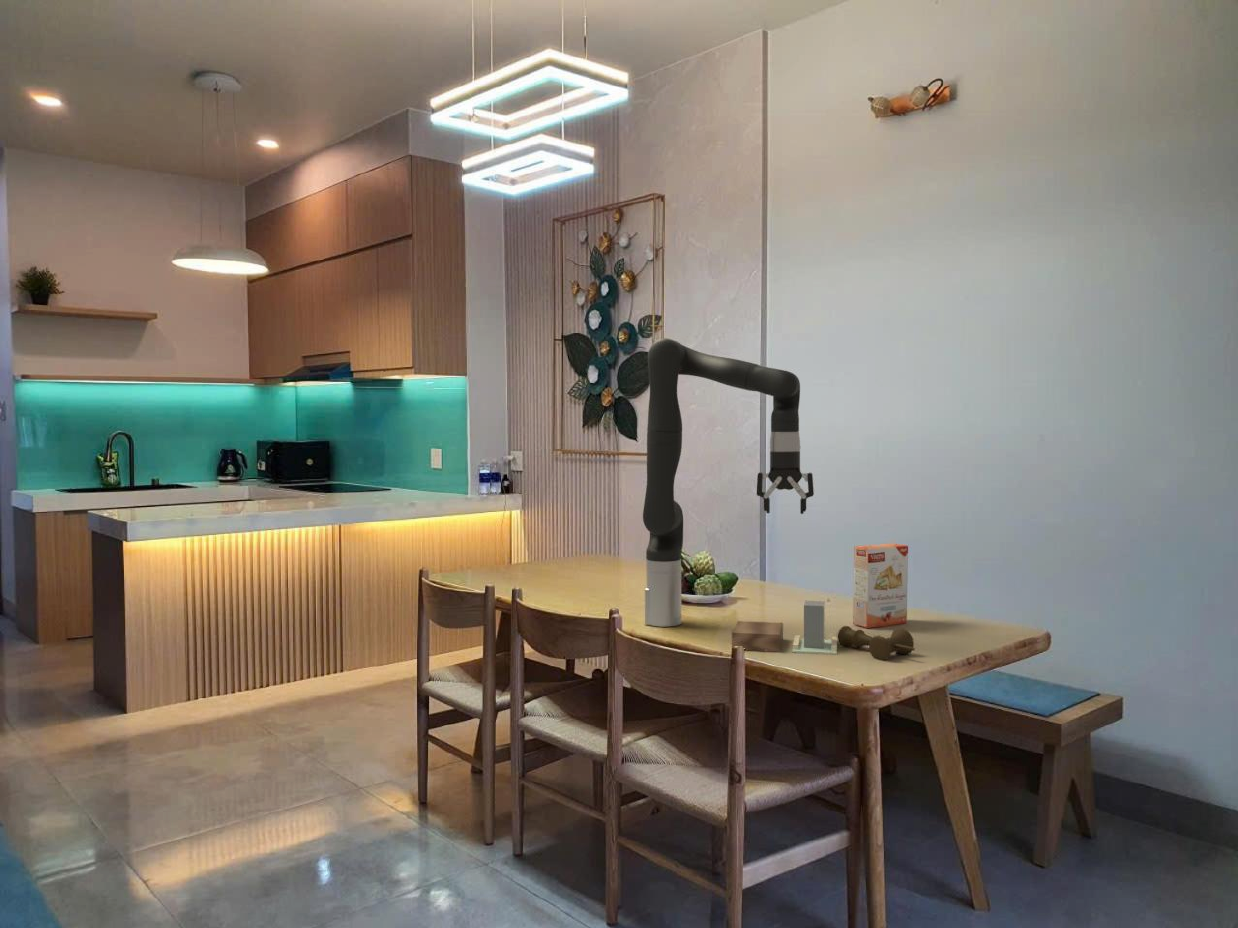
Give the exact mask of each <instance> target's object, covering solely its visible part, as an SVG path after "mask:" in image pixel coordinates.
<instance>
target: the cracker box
mask: <svg viewBox="0 0 1238 928" xmlns="http://www.w3.org/2000/svg"><path fill="white" fill-rule="evenodd" d="M853 555H854V556H853V605H852V606H853V607H852V609H853V611H852V612H853V613H852V620H853V621H852V623H853V624H852V625H856V626H859V627H862V628H864V629H870V628H871V629H872V628H879V627H886V626H893V625H894V626H895V625H902V624H907V623H908V581H909V579H908V576H909V574H908V572H909V571H908V570H909V568H908V567H909V545H906V544H902V543H897V542H894V543H892V542H890V543H881V544H869V545H866V544H865V545H855V546H854V548H853Z"/></svg>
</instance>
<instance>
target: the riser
mask: <svg viewBox="0 0 1238 928" xmlns="http://www.w3.org/2000/svg"><path fill="white" fill-rule="evenodd" d="M783 641H784V623H783V622H770V621H769V622H767V621H766V622H765V621H742V620H741V621H740V620H738V621H737V623H736V625H735V626H734V628H733V630H732V632H731V649H732V648H733V647H734V646H742V647H743V648H745V649H746V650H745V651H752V650H767V651H766V652H773V651H779V652H780V650H781V648H782V644H783Z"/></svg>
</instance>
